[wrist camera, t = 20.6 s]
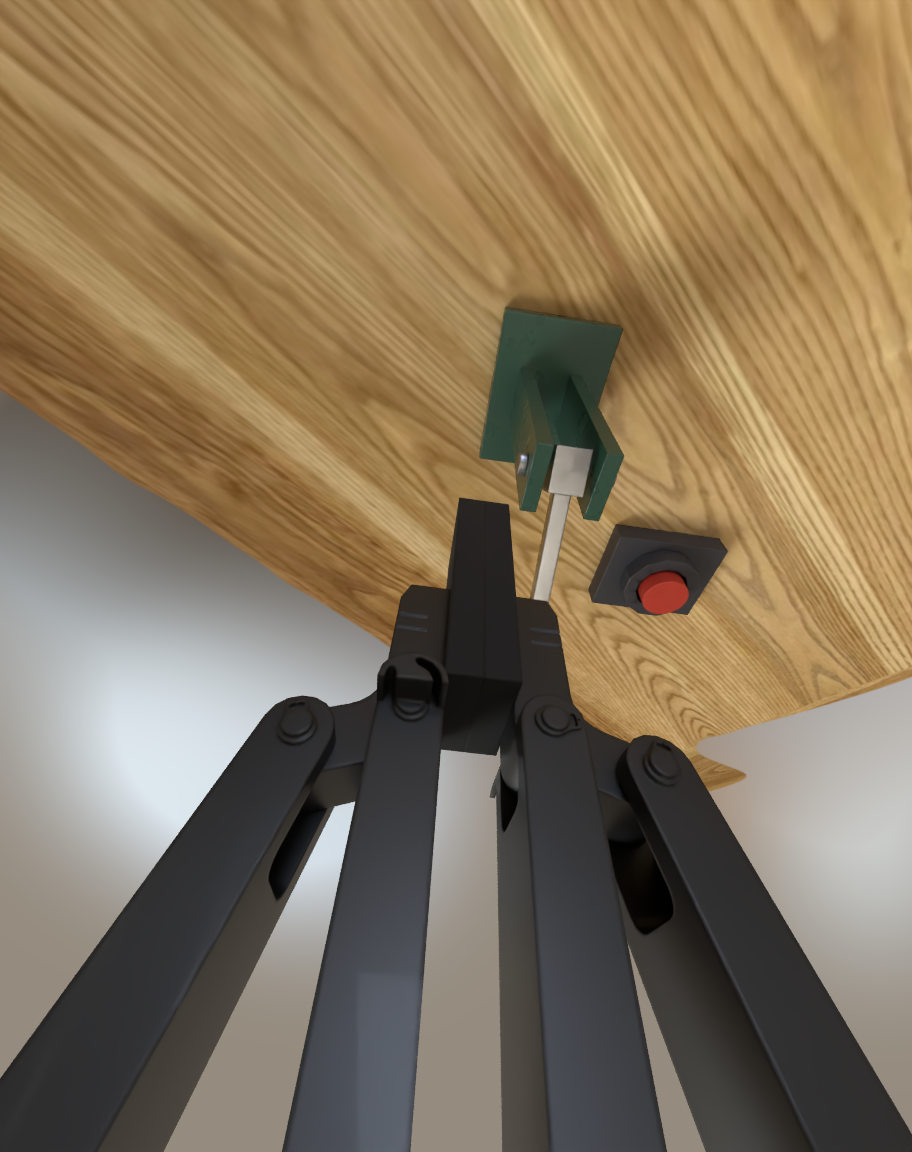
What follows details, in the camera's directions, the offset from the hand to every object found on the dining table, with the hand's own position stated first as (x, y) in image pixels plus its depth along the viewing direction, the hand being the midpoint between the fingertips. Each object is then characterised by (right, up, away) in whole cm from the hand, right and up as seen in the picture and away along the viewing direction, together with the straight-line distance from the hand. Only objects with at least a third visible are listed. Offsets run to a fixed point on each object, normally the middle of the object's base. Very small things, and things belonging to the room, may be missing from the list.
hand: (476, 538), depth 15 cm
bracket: (+7, +14, +25) cm, 29 cm away
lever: (+5, -1, +18) cm, 18 cm away
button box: (+21, 0, +36) cm, 41 cm away
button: (+20, -2, +33) cm, 39 cm away
